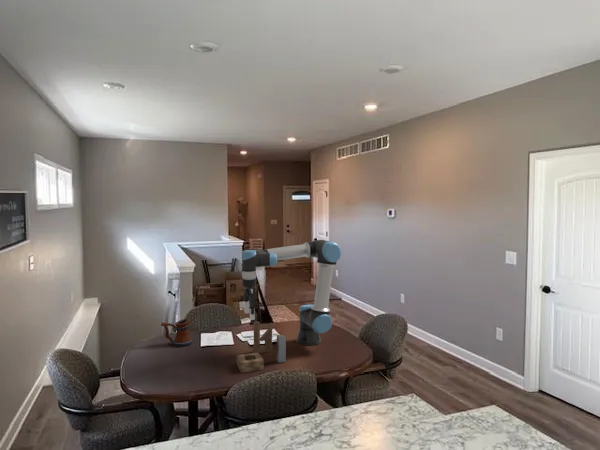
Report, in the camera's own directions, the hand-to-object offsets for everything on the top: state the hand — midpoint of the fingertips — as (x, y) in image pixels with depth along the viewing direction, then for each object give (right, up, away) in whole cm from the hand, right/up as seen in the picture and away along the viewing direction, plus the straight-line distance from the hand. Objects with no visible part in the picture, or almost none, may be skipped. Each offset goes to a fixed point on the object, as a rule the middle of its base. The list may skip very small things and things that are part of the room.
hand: (249, 316), depth 234 cm
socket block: (+1, -25, -9) cm, 26 cm away
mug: (-47, -23, +24) cm, 58 cm away
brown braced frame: (+6, -24, +13) cm, 28 cm away
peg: (+17, -25, -1) cm, 30 cm away
